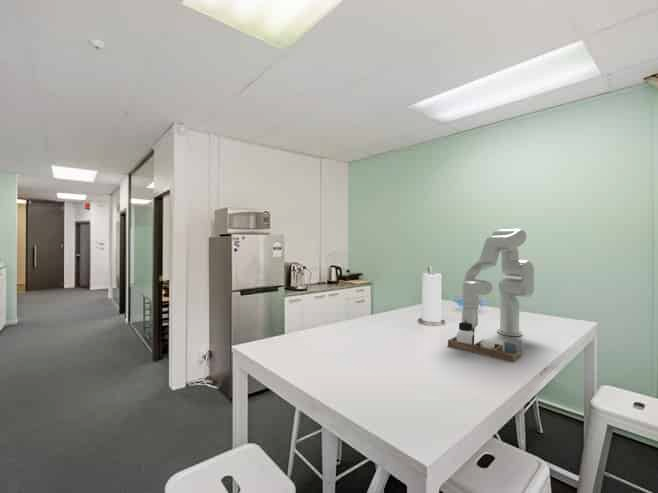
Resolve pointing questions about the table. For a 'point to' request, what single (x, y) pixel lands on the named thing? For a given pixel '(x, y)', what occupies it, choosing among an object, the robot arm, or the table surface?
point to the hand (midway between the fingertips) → (470, 340)
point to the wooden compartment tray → (484, 350)
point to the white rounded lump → (487, 344)
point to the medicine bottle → (465, 333)
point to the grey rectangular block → (512, 346)
